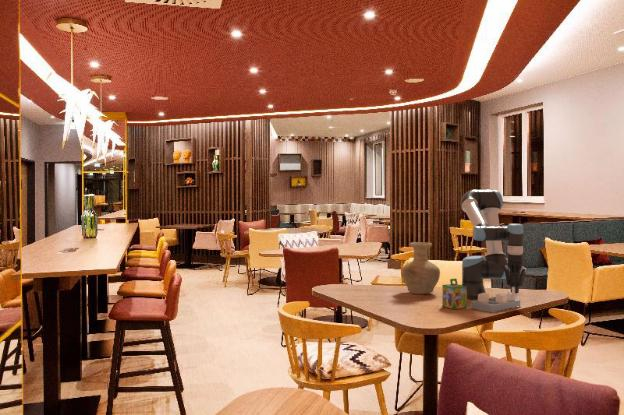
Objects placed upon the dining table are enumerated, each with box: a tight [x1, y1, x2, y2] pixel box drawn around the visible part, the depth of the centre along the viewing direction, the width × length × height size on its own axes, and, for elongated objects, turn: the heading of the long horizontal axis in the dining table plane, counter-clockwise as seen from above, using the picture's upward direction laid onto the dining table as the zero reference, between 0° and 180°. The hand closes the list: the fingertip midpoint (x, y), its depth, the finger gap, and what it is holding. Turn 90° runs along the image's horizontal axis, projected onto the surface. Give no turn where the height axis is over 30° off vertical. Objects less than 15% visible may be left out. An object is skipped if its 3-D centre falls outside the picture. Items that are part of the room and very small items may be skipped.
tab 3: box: [503, 290, 515, 301], centre depth 277 cm, size 4×4×6 cm
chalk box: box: [441, 278, 468, 310], centre depth 276 cm, size 9×9×15 cm
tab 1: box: [477, 292, 490, 304], centre depth 274 cm, size 4×4×6 cm
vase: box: [401, 241, 441, 295], centre depth 315 cm, size 22×22×30 cm
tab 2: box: [495, 292, 507, 303], centre depth 273 cm, size 4×4×6 cm
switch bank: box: [470, 296, 521, 313], centre depth 276 cm, size 24×13×4 cm, turn 126°
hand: (514, 299), depth 275 cm, fingers closed
